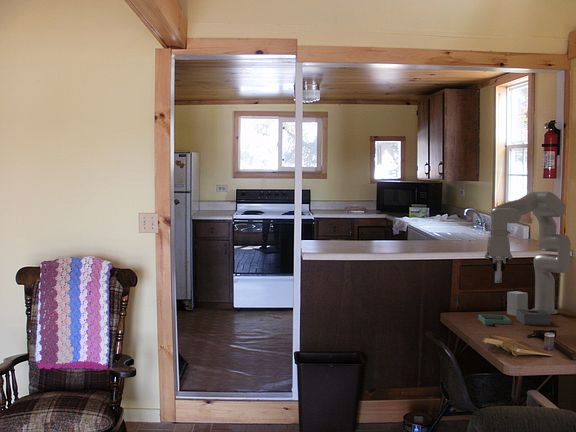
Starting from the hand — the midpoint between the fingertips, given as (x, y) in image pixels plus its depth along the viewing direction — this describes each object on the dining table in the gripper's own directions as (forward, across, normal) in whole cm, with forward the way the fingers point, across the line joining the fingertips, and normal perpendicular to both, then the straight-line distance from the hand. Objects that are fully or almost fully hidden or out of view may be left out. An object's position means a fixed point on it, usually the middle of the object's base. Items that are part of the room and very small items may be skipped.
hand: (498, 270), depth 270 cm
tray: (+26, +1, 0) cm, 26 cm away
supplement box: (+26, -15, -18) cm, 35 cm away
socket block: (+26, -17, 0) cm, 30 cm away
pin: (+6, 0, 0) cm, 6 cm away
